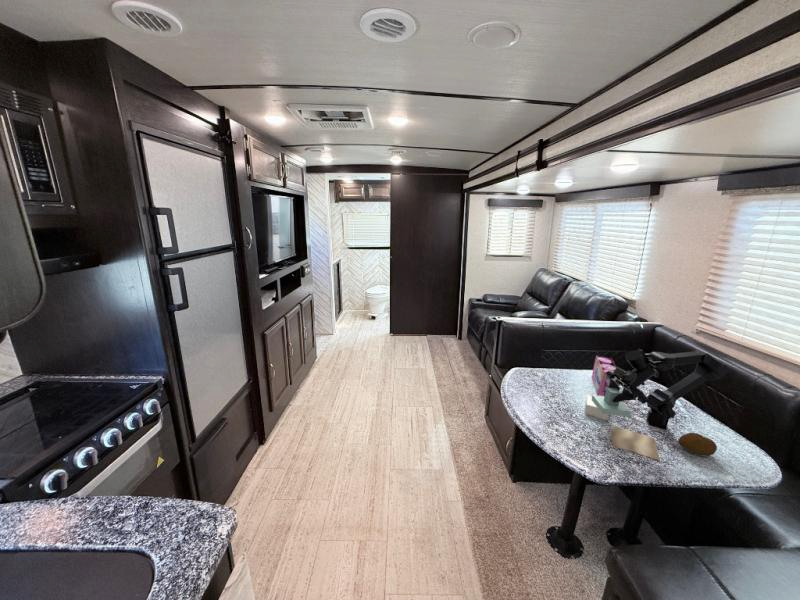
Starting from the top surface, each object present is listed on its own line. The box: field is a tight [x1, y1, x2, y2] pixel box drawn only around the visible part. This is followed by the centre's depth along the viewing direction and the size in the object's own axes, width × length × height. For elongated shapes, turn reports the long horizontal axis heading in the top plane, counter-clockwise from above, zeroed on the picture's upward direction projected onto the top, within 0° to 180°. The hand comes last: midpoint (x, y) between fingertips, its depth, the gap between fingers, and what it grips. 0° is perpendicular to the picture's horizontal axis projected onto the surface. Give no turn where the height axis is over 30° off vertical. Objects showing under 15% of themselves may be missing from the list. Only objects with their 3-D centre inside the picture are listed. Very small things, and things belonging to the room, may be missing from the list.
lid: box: [591, 388, 632, 418], centre depth 134 cm, size 11×11×8 cm
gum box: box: [591, 355, 618, 396], centre depth 166 cm, size 24×8×14 cm, turn 156°
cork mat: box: [610, 424, 661, 462], centre depth 126 cm, size 15×15×1 cm
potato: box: [677, 432, 718, 457], centre depth 121 cm, size 8×12×8 cm, turn 87°
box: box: [584, 395, 610, 421], centre depth 145 cm, size 9×9×4 cm
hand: (608, 398), depth 134 cm, fingers closed on lid, 5 cm apart
